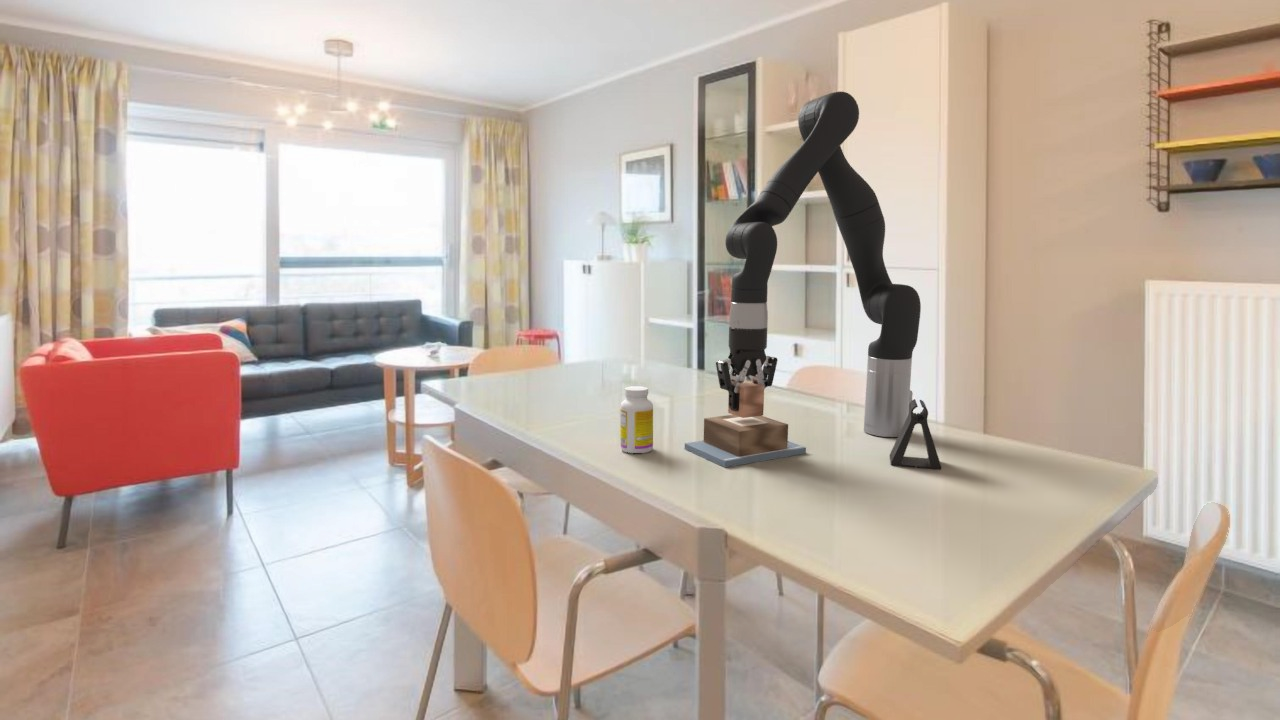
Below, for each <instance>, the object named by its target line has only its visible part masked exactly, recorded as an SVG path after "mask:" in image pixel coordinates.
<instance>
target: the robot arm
mask: <svg viewBox="0 0 1280 720" xmlns="http://www.w3.org/2000/svg"><path fill="white" fill-rule="evenodd" d="M859 119H860V109H859V105H858V103H857V100H856V99H855V97H854V96H853V95H851V93H848V92H847V91H834V92H829V93H827V94H825V95H822V96H820V97H817V98H814V99H812V100H809V101H808V102H806V103H804V104H803V105H802V107H801V108H800V110H799V113H798V117H797V124H798V129H799V133H800V135H801V138H802V140H803V143H802V144H801V145H800V146H799V147H798V148H797V149H796V151H795V152H793V153H792V154H791V155H790V156H789V157H788V158H787V159H786V160H785V161H784V162H783V163H782V164H781V165H780V166H779V167H778V168H777V169H776V170H775V171H774V173H773V174H772V175H771V177H770V178H769V179H768V181H767V182H766V184H765V185H764V187H763V188H762V190H761V191H760V193H759V195H758V196H757V198H756V200H755V201H753V203H751V204H750V205H749V206H748V207H747V208H746V209H745V210H744V211H743V212H742V213H741V214H740V215H739V216H738V217H737V218H736V219H735V220H734V222H732V224H731V226H730V227H729V229H728V231H727V234H726V235H725V248H726V250H727V253H728V254H729V255H730V256H731V257H733V258H736V259H741V260H745V263H744V266H743V267H742V268H743V269H742V270H741V271H739V272H736V273H734V275H733V276H732V278H731V286H730V287H731V289H730V290H731V293H730V295H731V296H730V309H729V319H728V347H729V354H728V357H727V358H725V359H723V360H721V359H717V360H716V361H715V367H716V371H717V378H718V384H719V387H720V389H721V390H724V391H727V392H728V402H729V403H727V404H728V405H729V408H730V409H731V410H732V411H739V396H740V393H738V392H739V390H740V387H741V384H742V383H743V382H745V379H746V377H749V378H750V379H749V380H751V382H752V383H755V384H758V385H763V386H764V390H765V389H767V387H771V386H772V385H773V382H774V377H775V374H776V371H777V370H776V368H777V365H778V358H777V357H775V356H769V355H766V352H765V350H766V349H767V347H768V327H769V326H768V325H769V324H768V323H769V322H768V321H769V320H768V319H769V317H768V316H769V314H768V313H769V311H768V283H769V278H770V275H771V273H772V271H773V265H774V262H775V258H776V255H777V250H778V238H777V233H776V232H775V231H776V230H775V229H774V226H778V225H780V224H782V223H784V222H785V221H786V219H788V216H789V215H790V214H791V212H792V210H793V209H794V208H795V206H796V205H797V202H799V199H800V198H801V196H802V195H803V193H804V192H805V190H806V189H807V187H808V186H809V185H810V183H811V182H812V180H813V179H814V177H816V175H817V174H818V175H819V177H820V179H821V182H822V185H823V187H824V190H825V192H826V194H827V198H828V200H829V202H830V205H831V210H832V211H833V215H834V219H835V221H836V223H837V227H838V229H839V233H840V235H841V237H842V240H843V242H844V245H845V248H846V250H847V254H848V257H849V260H850V262H851V265H852V268H853V271H854V275H855V279H856V283H857V286H858V287H857V288H858V290H859V291H858V292H859V296H860V300H861V304H862V308H863V310H864V312H865V315H866V317H868V319H869V320H870V321H871V322H873V323H876V324H877V325H878V324H879V325H881V327H880V328H881V329H880V335H879V337H878V338H877V339H876V340H873V341H871V342H870V343H869V345H868V349H867V366H866V367H867V368H866V382H865V383H866V388H865V402H864V405H865V406H864V416H863V417H864V418H863V419H864V420H863V432H865V433H866V434H869V435H873V436H875V437H876V436H877V437H883V438H898V436H899V434H900V432H901V430H902V427H903V425H904V423H905V421H906V419H907V417H908V414H909V404H910V402H911V401H912V400H913V391H912V390H911V381H912V380H911V377H912V363H913V362H912V360H913V352H914V349H915V347H916V345H917V342H918V335H919V329H920V328H919V327H920V319H921V309H922V307H921V306H922V305H921V298H920V295H919V293H918V291H917V290H916V289H915V288H914V287H913V286H911V285H909V284H902V283H900V284H899V283H893V282H892V281H891V278H890V275H889V273H888V270H887V268H886V265H885V261H884V253H883V252H884V244H885V237H886V236H885V235H886V222H885V217H884V214H883V212H882V208H881V205H880V203H879V200H878V197H877V195H876V193H875V191H874V189H873V188H872V187H871V185H869V183H868V182H867V181H866V180H865V179H864V178H863V177H862V176H861V175H860V174H859V173H858V172H857V171H856V169H854V167H853V166H852V165H850V162H849V161H848V160H847V158H846V156H845V154H844V152H843V149H842V147H841V145H843V143H844V142H845V141H846V140H847V139H848V137H850V135H851V134H852V133H853V132H854V131H855V129H856V127H857V125H858V124H859V123H858V122H859ZM728 405H727V406H728Z"/></svg>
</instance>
